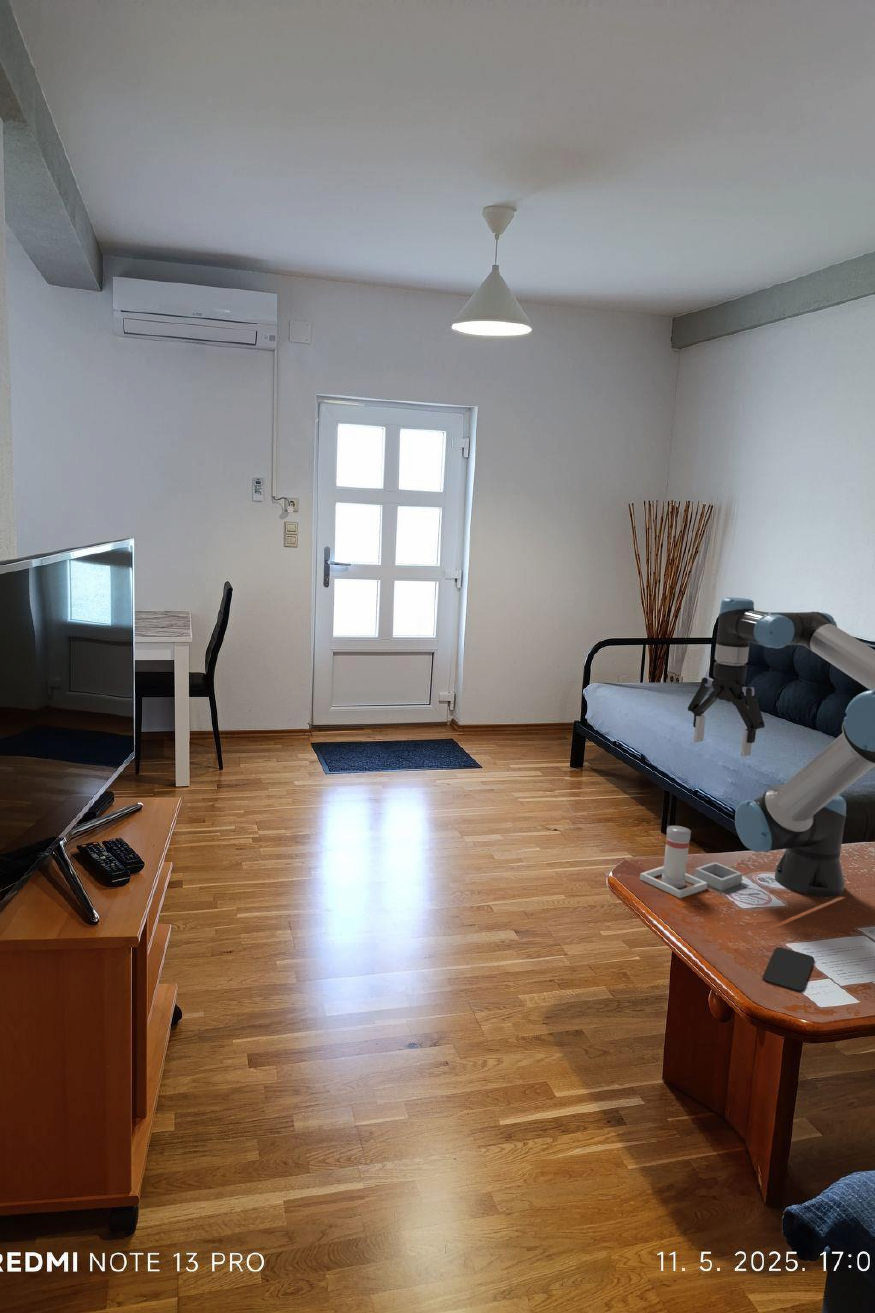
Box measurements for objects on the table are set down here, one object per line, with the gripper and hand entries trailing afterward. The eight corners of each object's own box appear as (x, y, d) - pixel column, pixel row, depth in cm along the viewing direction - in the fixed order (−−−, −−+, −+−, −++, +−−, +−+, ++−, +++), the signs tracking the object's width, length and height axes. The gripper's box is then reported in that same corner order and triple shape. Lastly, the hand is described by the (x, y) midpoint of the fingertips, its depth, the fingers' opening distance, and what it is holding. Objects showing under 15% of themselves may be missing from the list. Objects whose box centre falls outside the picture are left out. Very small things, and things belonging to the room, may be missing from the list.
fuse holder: (749, 887, 209) (750, 875, 208) (725, 896, 203) (726, 883, 203) (709, 870, 217) (710, 858, 217) (685, 879, 212) (687, 866, 212)
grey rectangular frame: (706, 891, 206) (707, 882, 206) (679, 900, 200) (680, 892, 200) (666, 872, 215) (667, 864, 215) (639, 881, 209) (640, 873, 209)
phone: (761, 979, 168) (775, 945, 181) (760, 983, 168) (775, 949, 181) (803, 991, 164) (815, 956, 177) (802, 995, 164) (814, 960, 177)
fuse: (689, 885, 207) (695, 831, 206) (675, 890, 204) (682, 835, 202) (670, 877, 211) (676, 824, 209) (656, 882, 208) (662, 828, 206)
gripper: (786, 670, 208) (776, 759, 212) (697, 652, 228) (689, 734, 231) (767, 673, 204) (757, 763, 207) (678, 654, 223) (670, 737, 227)
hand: (721, 748), depth 219 cm, fingers open, 13 cm apart
